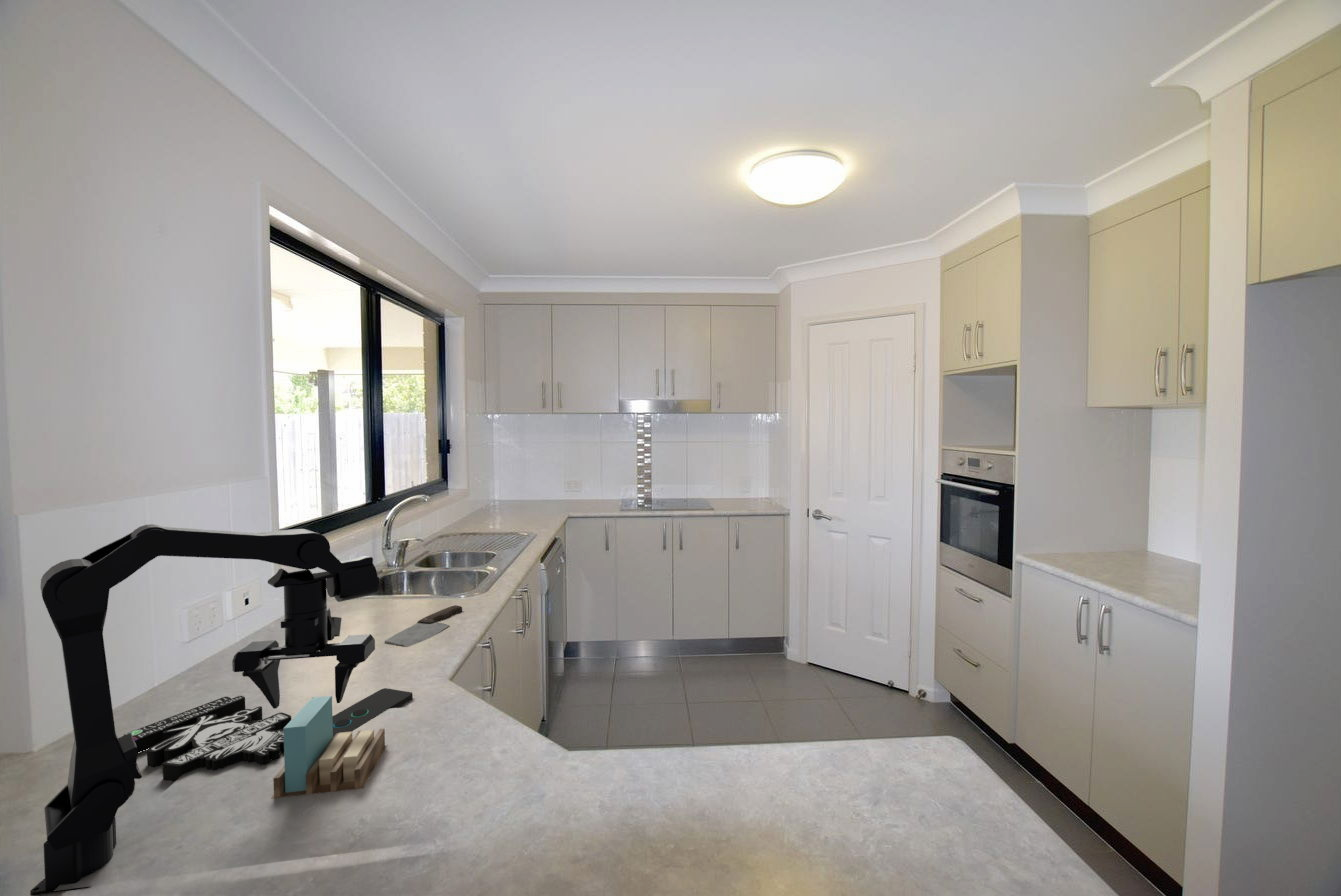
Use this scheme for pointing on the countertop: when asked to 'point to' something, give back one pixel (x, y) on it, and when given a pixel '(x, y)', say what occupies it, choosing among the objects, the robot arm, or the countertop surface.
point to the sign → (212, 738)
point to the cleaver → (423, 628)
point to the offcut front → (356, 754)
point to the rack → (336, 771)
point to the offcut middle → (333, 756)
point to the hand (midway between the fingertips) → (308, 704)
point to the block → (306, 740)
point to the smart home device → (369, 709)
